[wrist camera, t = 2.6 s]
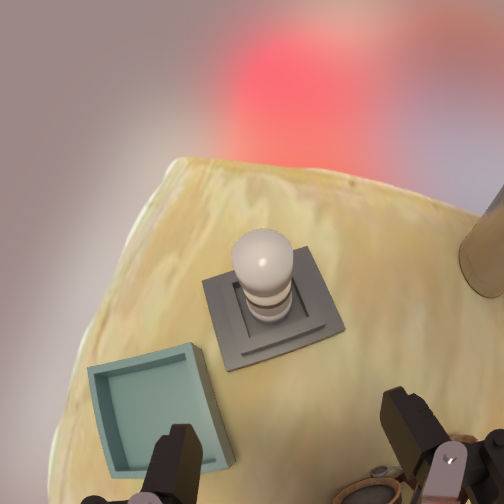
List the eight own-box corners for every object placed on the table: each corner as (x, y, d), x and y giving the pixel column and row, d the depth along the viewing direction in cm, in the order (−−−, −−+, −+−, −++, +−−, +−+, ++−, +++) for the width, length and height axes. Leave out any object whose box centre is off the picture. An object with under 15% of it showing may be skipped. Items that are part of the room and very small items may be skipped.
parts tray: (201, 349, 27) (190, 342, 24) (235, 460, 21) (228, 468, 18) (105, 373, 26) (87, 367, 23) (129, 473, 20) (111, 478, 17)
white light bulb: (283, 280, 29) (280, 221, 20) (297, 316, 27) (302, 270, 18) (244, 293, 29) (224, 239, 20) (256, 331, 26) (240, 291, 18)
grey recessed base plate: (306, 250, 31) (307, 238, 29) (343, 331, 26) (348, 324, 24) (204, 284, 31) (197, 274, 29) (228, 372, 26) (222, 369, 23)
